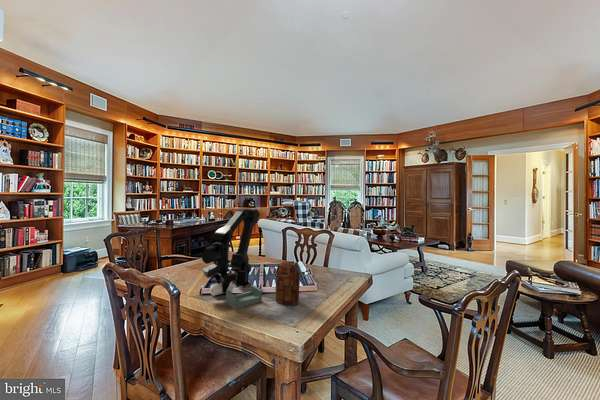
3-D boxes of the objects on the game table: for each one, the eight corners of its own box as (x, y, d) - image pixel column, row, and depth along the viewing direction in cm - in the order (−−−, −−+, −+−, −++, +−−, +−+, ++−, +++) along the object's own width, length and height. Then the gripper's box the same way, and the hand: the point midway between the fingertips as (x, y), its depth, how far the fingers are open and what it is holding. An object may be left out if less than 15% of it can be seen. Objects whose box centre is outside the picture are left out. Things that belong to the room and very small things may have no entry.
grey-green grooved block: (252, 295, 133) (252, 284, 133) (261, 301, 127) (261, 290, 127) (226, 302, 125) (226, 291, 124) (234, 309, 119) (234, 297, 118)
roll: (228, 289, 139) (228, 279, 138) (233, 292, 135) (233, 282, 135) (210, 293, 133) (210, 283, 133) (214, 297, 129) (214, 286, 129)
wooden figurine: (271, 302, 126) (272, 262, 124) (276, 297, 132) (277, 258, 130) (296, 307, 122) (298, 265, 121) (301, 301, 128) (302, 261, 127)
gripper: (197, 256, 135) (197, 288, 136) (213, 266, 121) (213, 302, 122) (219, 253, 142) (219, 283, 143) (237, 261, 128) (237, 296, 129)
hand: (221, 291), depth 134 cm, fingers closed on roll, 5 cm apart
